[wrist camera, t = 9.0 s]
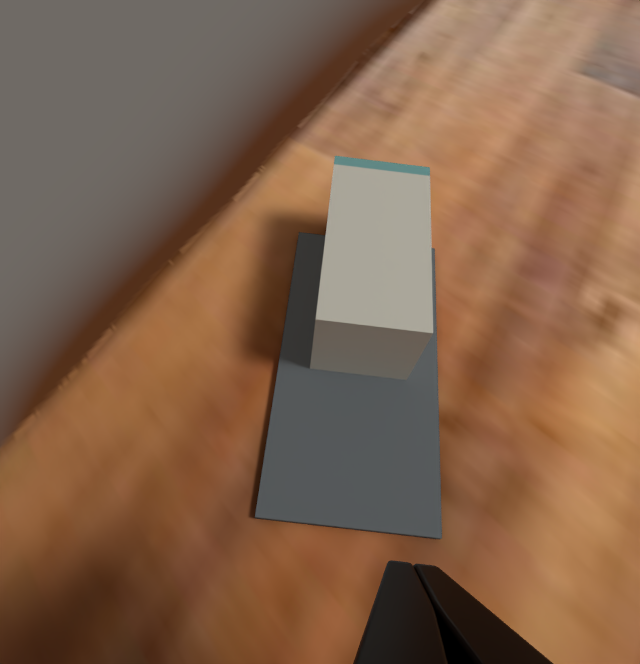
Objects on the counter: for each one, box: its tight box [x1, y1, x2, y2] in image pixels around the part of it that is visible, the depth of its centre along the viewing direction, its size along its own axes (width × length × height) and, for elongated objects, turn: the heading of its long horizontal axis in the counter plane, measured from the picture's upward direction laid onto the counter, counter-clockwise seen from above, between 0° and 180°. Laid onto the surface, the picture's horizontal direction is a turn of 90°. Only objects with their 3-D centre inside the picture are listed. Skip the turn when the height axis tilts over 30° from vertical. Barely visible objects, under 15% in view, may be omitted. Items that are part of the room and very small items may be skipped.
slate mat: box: [255, 232, 442, 539], centre depth 20 cm, size 13×7×1 cm, turn 174°
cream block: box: [310, 156, 433, 380], centre depth 20 cm, size 4×4×8 cm
